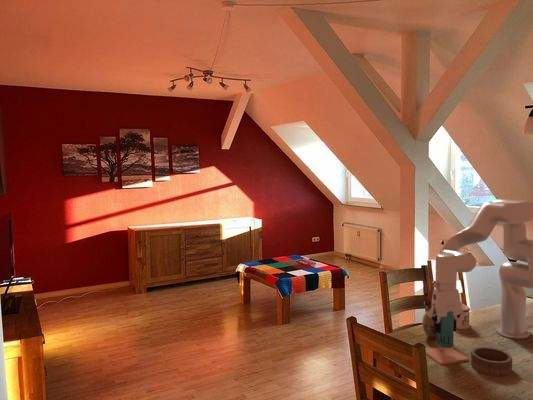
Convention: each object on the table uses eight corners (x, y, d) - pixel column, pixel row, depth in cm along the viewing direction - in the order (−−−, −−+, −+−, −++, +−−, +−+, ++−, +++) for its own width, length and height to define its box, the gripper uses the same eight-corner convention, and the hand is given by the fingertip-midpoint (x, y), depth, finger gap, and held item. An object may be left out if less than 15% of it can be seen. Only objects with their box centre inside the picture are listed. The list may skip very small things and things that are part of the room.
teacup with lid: (465, 331, 193) (466, 305, 192) (445, 326, 199) (445, 301, 198) (474, 323, 201) (475, 299, 200) (454, 319, 208) (455, 295, 207)
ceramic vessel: (437, 346, 178) (437, 286, 176) (415, 340, 184) (416, 283, 182) (451, 334, 190) (452, 278, 188) (430, 329, 196) (431, 275, 194)
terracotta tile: (448, 347, 176) (448, 346, 176) (468, 360, 164) (468, 358, 164) (422, 351, 173) (422, 349, 173) (440, 364, 162) (440, 362, 161)
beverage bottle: (448, 344, 172) (449, 295, 170) (457, 351, 165) (458, 300, 164) (432, 345, 171) (433, 296, 170) (440, 352, 165) (441, 301, 163)
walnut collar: (492, 357, 166) (493, 345, 166) (519, 373, 154) (520, 360, 153) (463, 362, 163) (463, 349, 163) (488, 378, 151) (489, 364, 150)
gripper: (431, 290, 161) (431, 337, 162) (471, 286, 165) (470, 332, 166) (420, 285, 168) (419, 330, 170) (458, 281, 172) (457, 325, 174)
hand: (445, 330), depth 168 cm, fingers closed on beverage bottle, 6 cm apart
